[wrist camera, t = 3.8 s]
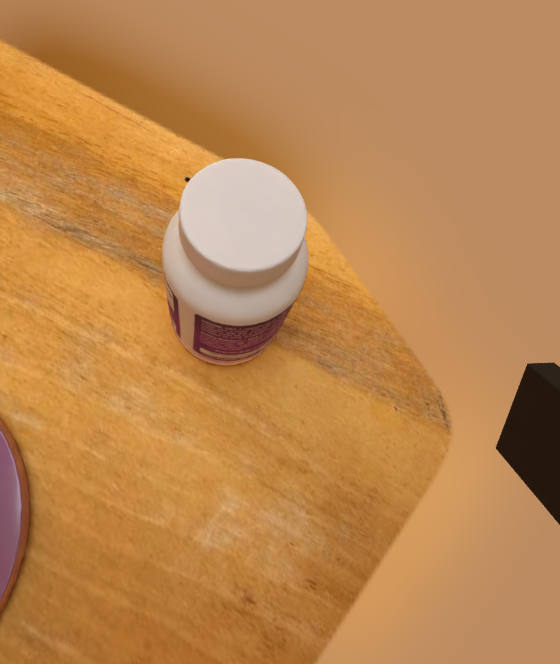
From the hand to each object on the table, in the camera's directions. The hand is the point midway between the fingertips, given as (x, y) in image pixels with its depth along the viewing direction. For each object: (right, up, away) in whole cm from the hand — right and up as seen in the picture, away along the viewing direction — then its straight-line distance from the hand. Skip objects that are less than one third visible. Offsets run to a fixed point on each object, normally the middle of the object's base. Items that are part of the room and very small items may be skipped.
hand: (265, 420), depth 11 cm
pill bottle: (-2, +3, +13) cm, 13 cm away
